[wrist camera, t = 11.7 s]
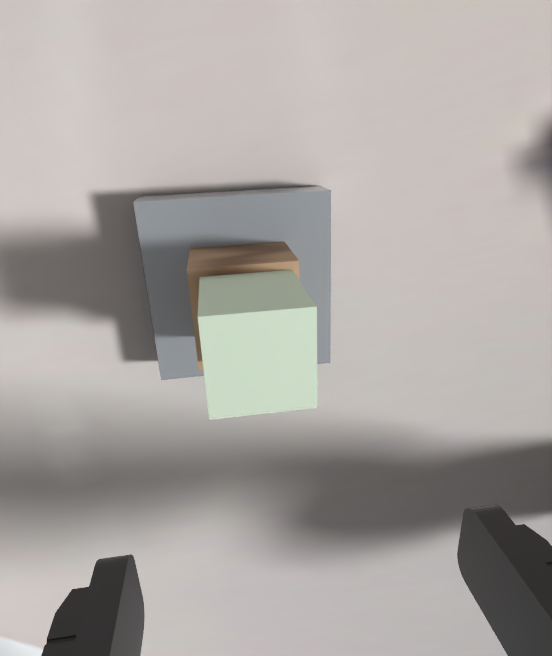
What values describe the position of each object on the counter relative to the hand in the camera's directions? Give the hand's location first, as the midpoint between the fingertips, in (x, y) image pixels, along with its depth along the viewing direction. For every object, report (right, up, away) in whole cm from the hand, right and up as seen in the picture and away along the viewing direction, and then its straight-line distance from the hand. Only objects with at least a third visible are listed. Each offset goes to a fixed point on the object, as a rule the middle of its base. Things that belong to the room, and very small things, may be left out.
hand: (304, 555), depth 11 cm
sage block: (-2, +6, +15) cm, 16 cm away
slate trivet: (-3, +9, +22) cm, 24 cm away
